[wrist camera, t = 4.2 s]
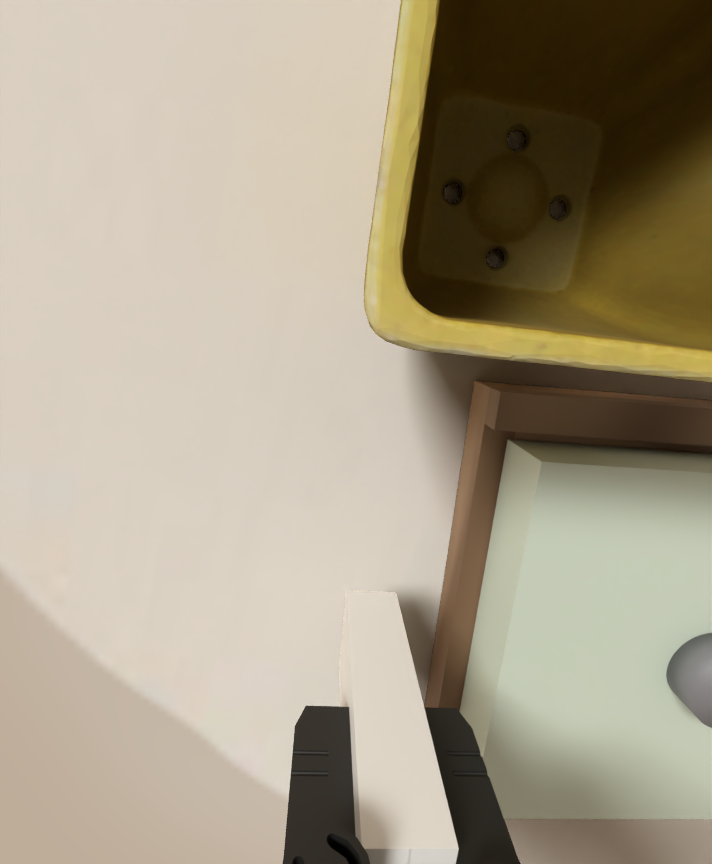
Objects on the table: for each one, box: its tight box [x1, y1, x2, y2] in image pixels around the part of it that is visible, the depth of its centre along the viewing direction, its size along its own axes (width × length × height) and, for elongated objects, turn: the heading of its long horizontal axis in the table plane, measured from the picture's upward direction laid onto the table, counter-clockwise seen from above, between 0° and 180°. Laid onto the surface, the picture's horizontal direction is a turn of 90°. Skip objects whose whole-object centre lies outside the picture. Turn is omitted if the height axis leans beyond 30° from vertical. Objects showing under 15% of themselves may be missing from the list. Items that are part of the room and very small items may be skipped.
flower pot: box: [364, 0, 712, 383], centre depth 9 cm, size 9×9×9 cm
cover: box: [459, 439, 712, 819], centre depth 14 cm, size 12×12×3 cm
